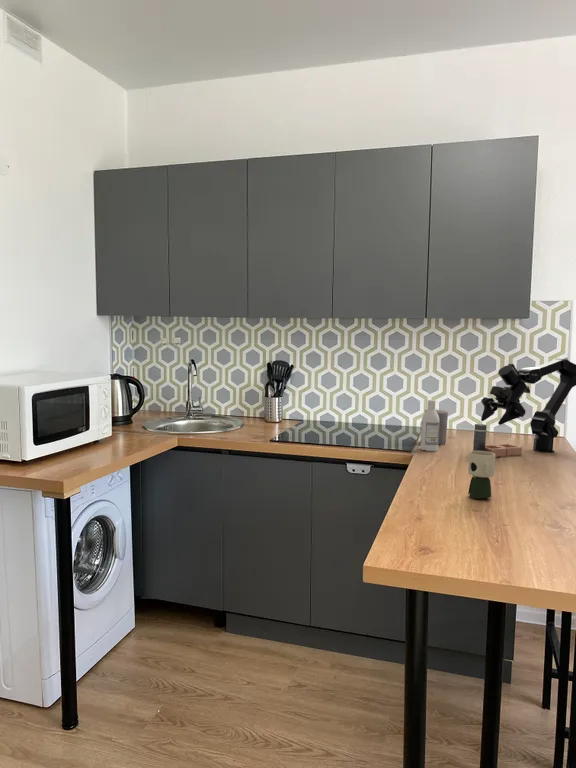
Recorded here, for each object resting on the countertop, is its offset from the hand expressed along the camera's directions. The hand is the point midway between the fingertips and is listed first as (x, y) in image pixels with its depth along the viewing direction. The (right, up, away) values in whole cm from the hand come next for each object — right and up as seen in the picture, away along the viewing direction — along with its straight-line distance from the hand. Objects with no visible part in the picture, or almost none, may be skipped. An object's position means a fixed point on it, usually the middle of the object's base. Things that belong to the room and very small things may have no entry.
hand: (490, 422), depth 230 cm
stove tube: (-5, -13, -1) cm, 14 cm away
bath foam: (-22, -12, +8) cm, 26 cm away
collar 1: (+1, -13, +2) cm, 13 cm away
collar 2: (+9, -13, +5) cm, 16 cm away
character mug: (-23, -18, -60) cm, 67 cm away
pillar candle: (-16, -10, +24) cm, 30 cm away
